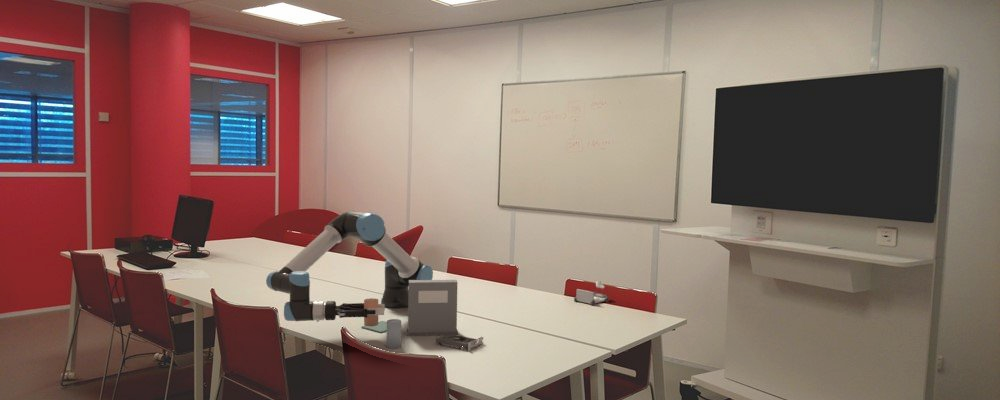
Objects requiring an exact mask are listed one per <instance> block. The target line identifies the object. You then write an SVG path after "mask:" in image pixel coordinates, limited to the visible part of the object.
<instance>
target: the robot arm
mask: <svg viewBox="0 0 1000 400" xmlns="http://www.w3.org/2000/svg"><path fill="white" fill-rule="evenodd" d="M385 223H386V222H385V221H384V219H383V218H382V217H381V216H380V215H379V214H376V213H373V212H364V211H363V212H362V211H356V210H351V211H350V210H349V211H346V212H344V213H341V214H339V215H337V216H336V217H334V219H332V220H331V221H330V222H329V223H327V224H326V225H325V226H324V229H323V231H322V232H320V234H318V235H317V236H316V237H315V238H314V239H313V240H312V241H311V242H310V243H309V244H308V245H306V246H305V247H304V248H303V249H302V250H301V251H300V252H299V253H297V255H296V256H294V257H293V258H292V259H291V260H290V261H289V262H288V263H286V265H284V266H283V267H282V268H281V269H280V270H279V271H278V270H276V271H271V272H270V273H269V274H268V275H267V277H266V280H265V282H266V283H265V284H266V286H267V287H268V288H269V289H271V290H273V292H274V291H275V292H280V293H285V294H287V295H288V294H289V301H287V302H285V303H284V306H283V317H284V320H285V321H288V322H308V321H309V322H310V321H316V322H317V323H318V322H320V321H324V320H325V321H334V320H335V321H336V317H337V316H339V318H340V319H343V318H364V317H365V318H367V315H378V316H384V315H385V310H386V308H391V309H392V308H394V309H397V308H399V309H400V308H406V307H408V301H409V280H433V279H434V277H433V276H434V269H433V268H432V266H431V265H429V264H426V263H423V262H422V261H421V260H419V259H418V258H417V257H415V256H410V255H409V253H407V252H406V250H405V249H403V247H401V246H400V245H399V244H398V242H396V241H395V240H394V239H393V238H392V237H391V236H390V235H389V234H388V233H387V229H386V225H385ZM348 238H350V239H351V238H353V239H356V240H359V241H360V242H362V244H363V245H365V246H366V247H369V248H370V247H372V248H373V249H374V250H376V251H377V252H378V254H380V255H381V256H382V257H383V258H384V259H385V262H384V291H383V295H382V297H381V300H380V303H378V308H367V309H364V302H357V303H344V302H343V303H342V304H340V305H337V302H336V301H335V300H327V301H324V300H320V301H319V300H318V301H311V299H310V297H311V295H310V293H311V292H310V291H311V281H310V273H309V272H308V270H309V269H310V268H311V267H312V266H313V265H314V264H315V263H317V262H318V261H319V260H320V259H321V258H322V257H323V256H324V255H325V254H326V253H327V252H329V250H331V249H332V247H334V246H335V245H336V244H340V243H342V242H343V241H344V240H345V239H348Z"/></svg>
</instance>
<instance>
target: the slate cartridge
mask: <svg viewBox="0 0 1000 400" xmlns="http://www.w3.org/2000/svg"><path fill="white" fill-rule="evenodd" d="M386 322H387V331H386V343H385V344H386V345H385V346H386V348H387V349H390V348H392V349H393V348H394V349H395V348H396V349H400V348H402V327H401V326H402V320H401V319H398V318H396V319H395V318H392V319H391V318H390V319H388V320H386ZM399 347H400V348H399ZM392 349H391V350H392ZM394 349H393V350H394Z"/></svg>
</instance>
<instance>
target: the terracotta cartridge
mask: <svg viewBox="0 0 1000 400" xmlns="http://www.w3.org/2000/svg"><path fill="white" fill-rule="evenodd" d="M363 303H364V309H367V308H378V304H379V299H378V298H373V297H372V298H370V297H369V298H365V299H364V300H363ZM378 322H379V315H367V318H365V317H363V326H377V325H378Z"/></svg>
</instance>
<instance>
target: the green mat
mask: <svg viewBox="0 0 1000 400" xmlns="http://www.w3.org/2000/svg"><path fill="white" fill-rule="evenodd" d="M402 327H403V326H402V325H401V328H402ZM361 329H364V330H368V331H371V332H375V333H379V334H383V333H385V332H386V333H387V321H386V320H380V321H378V325H377V326H365V325H362V326H361Z"/></svg>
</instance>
